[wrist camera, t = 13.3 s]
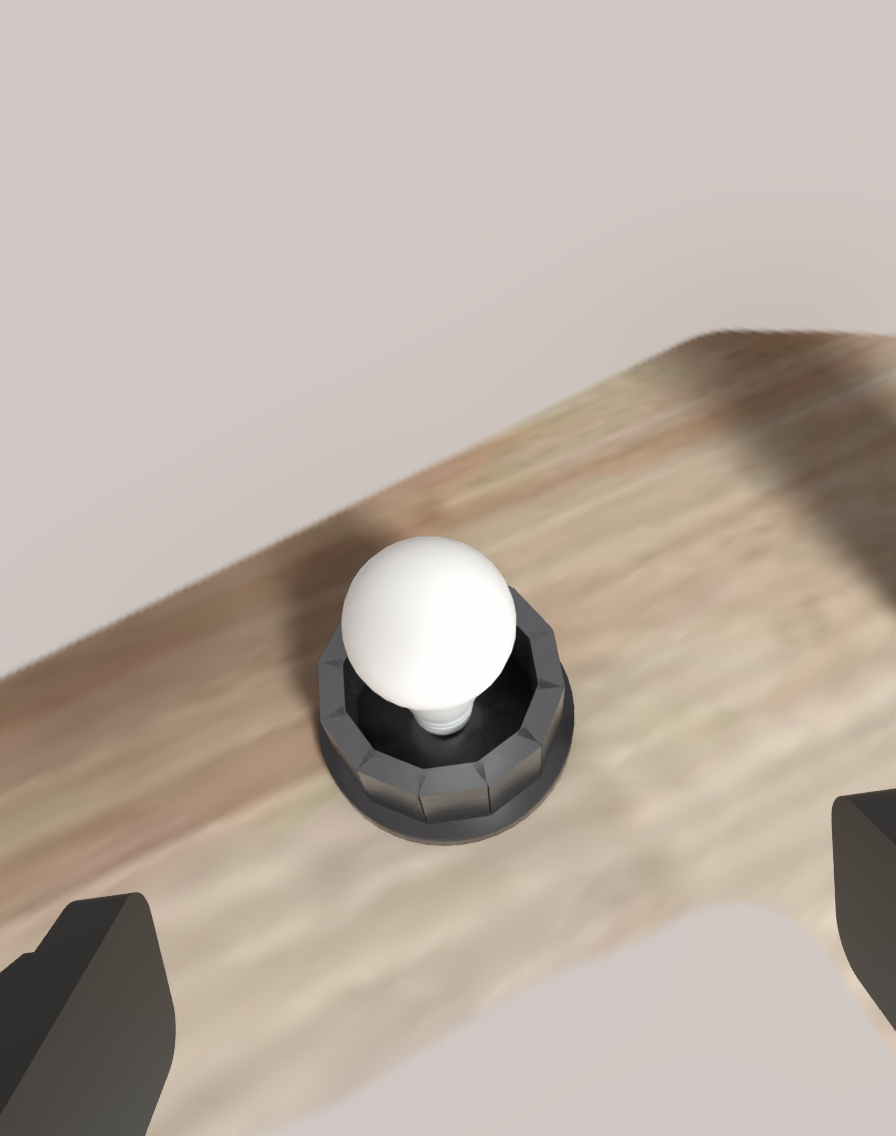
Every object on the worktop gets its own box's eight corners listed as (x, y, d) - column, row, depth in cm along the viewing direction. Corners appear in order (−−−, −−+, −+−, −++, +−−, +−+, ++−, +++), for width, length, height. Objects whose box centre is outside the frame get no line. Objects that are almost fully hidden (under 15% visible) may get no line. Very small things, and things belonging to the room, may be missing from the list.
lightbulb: (406, 635, 39) (373, 482, 30) (534, 676, 37) (541, 527, 28) (350, 756, 36) (294, 626, 27) (487, 805, 34) (477, 685, 25)
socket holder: (548, 596, 40) (551, 542, 37) (597, 825, 34) (606, 789, 31) (319, 627, 40) (299, 577, 37) (327, 863, 34) (304, 831, 31)
